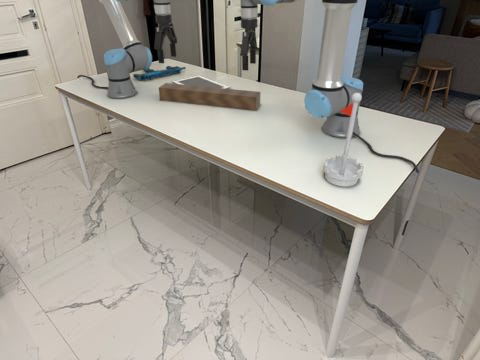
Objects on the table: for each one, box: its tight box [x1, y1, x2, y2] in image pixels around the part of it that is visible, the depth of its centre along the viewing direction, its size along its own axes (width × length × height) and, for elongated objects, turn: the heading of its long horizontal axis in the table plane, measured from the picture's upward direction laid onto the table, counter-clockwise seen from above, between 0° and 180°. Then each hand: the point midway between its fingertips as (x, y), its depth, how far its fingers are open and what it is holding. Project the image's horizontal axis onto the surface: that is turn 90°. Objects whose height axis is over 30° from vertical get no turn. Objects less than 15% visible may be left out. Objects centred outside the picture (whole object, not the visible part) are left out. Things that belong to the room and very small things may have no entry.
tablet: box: [171, 75, 231, 89], centre depth 204 cm, size 32×20×1 cm, turn 41°
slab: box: [158, 82, 262, 111], centre depth 178 cm, size 54×8×7 cm, turn 73°
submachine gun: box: [132, 65, 187, 81], centre depth 224 cm, size 34×4×25 cm
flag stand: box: [322, 93, 365, 187], centre depth 109 cm, size 13×13×30 cm
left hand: (167, 59), depth 174 cm, fingers open, 13 cm apart
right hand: (249, 66), depth 163 cm, fingers open, 13 cm apart
